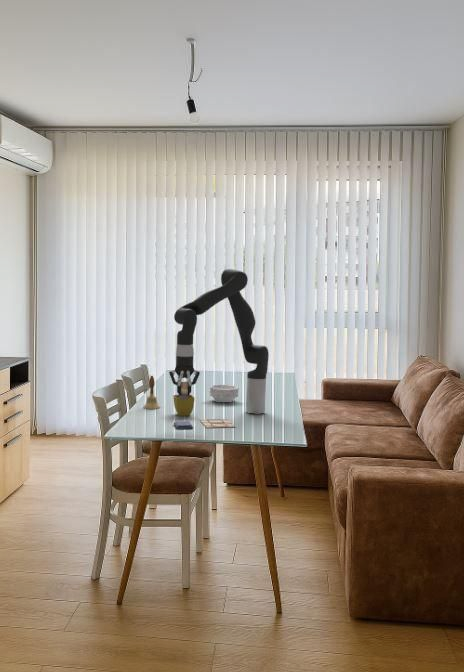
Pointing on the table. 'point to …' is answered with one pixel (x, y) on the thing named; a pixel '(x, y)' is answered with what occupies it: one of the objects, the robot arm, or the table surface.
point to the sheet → (217, 423)
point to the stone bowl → (224, 393)
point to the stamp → (184, 390)
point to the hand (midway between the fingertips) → (184, 393)
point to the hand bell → (151, 397)
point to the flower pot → (183, 405)
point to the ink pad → (183, 425)
